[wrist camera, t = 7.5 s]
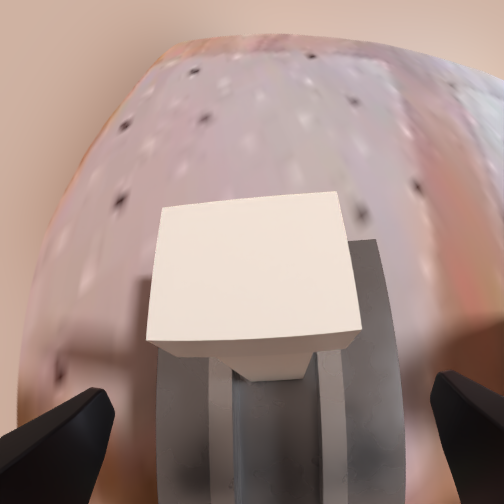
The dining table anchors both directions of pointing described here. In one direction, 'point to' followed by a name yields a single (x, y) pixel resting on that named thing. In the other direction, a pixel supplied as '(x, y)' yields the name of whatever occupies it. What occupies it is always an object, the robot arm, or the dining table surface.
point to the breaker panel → (289, 420)
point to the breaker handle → (254, 283)
